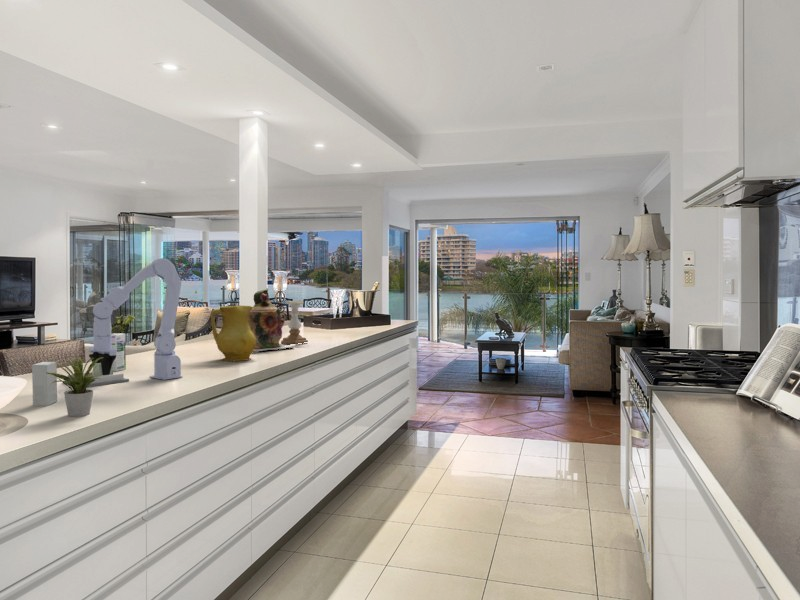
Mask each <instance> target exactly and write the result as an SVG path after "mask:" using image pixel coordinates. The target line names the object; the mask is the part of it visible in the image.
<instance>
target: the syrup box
mask: <svg viewBox="0 0 800 600" xmlns="http://www.w3.org/2000/svg"><path fill="white" fill-rule="evenodd" d="M111 348H113V349H115V350H117V355H116V358H115V360H114V361H113V372H118V371H124V370H127V367H126V365H127V361H126V360H127V359H126V355H127V354H126V334H125V333H119V332H117V333H116V332H114V333H111Z"/></svg>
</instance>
